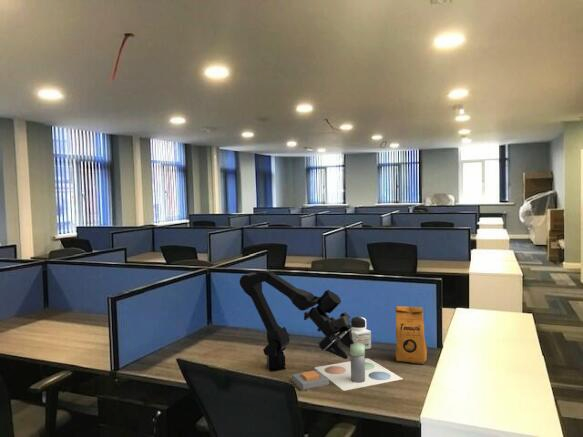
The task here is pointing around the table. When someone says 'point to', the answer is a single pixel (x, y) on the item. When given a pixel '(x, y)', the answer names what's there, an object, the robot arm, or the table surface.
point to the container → (360, 332)
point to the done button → (310, 375)
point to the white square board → (342, 374)
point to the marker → (357, 362)
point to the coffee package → (410, 335)
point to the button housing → (311, 383)
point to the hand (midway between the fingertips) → (351, 354)
